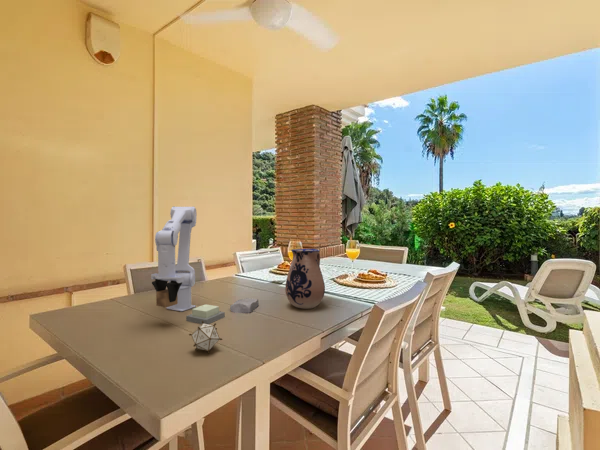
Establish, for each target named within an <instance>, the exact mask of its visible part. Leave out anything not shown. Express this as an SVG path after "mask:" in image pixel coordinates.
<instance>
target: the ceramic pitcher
mask: <svg viewBox="0 0 600 450" xmlns="http://www.w3.org/2000/svg"><path fill="white" fill-rule="evenodd" d="M320 251H321V250H320V249H318V248H294V249H291V253H292V260H291V263H290V266H289V269H288V273H287V277H286V280H285V289H284V290H285V295H286V297H287V299H288V301H289V303H290V304H291V305H292V306H294V307H295V308H297V309H298V308H299V309H301V310H302V309H303V310H305V309H307V310H308V309H314V308H316V307H317V306H318V305H319V304H321V302H322V300H323V298H324V297H325V293H326V286H325V281H324V280H325V279H324V276H323V274H322V270H321V267H320V265H321V254H320Z"/></svg>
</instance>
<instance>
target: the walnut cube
mask: <svg viewBox="0 0 600 450" xmlns="http://www.w3.org/2000/svg"><path fill="white" fill-rule="evenodd" d="M155 292H156V291H155ZM155 294H156V295H155V296H156V297H155V299H156V300H155V301H156V303H155V304H156V306H157V307H163V308H166V307H169V306H172V305H176V304H178V293H177V297H176V301H174V302H170V301H169V293H168V289H167V288H166V290H162V291H158V292H156V293H155Z"/></svg>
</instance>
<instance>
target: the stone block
mask: <svg viewBox="0 0 600 450" xmlns="http://www.w3.org/2000/svg"><path fill="white" fill-rule="evenodd" d="M259 305H260V303H259V298H251V297H245V298H241V299H237V300H236V301H235V302H234V303H232V304H231V305H230V306H229V307H230V308H229V309H230V311H231V312H232V313H236V314H237V313H240V314H242V313H243V314H250V313H252V312H253V311H254V310H255V309H257V307H258V306H259ZM231 312H230V313H231Z"/></svg>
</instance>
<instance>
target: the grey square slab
mask: <svg viewBox="0 0 600 450" xmlns="http://www.w3.org/2000/svg"><path fill="white" fill-rule="evenodd" d="M225 315H226V312H225V311H220V310H219V313H217V314H215V315H213V316H210V317H208V318H202V317H197V316H192V313H190V314H188V315H186V317H185V318H186V319H185V321H186V322H189V323H194V324H199V325H201V324H202V321H204V323H205V324H210V325H211V323H216V321H219V320H221V319H224V318H225Z"/></svg>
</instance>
